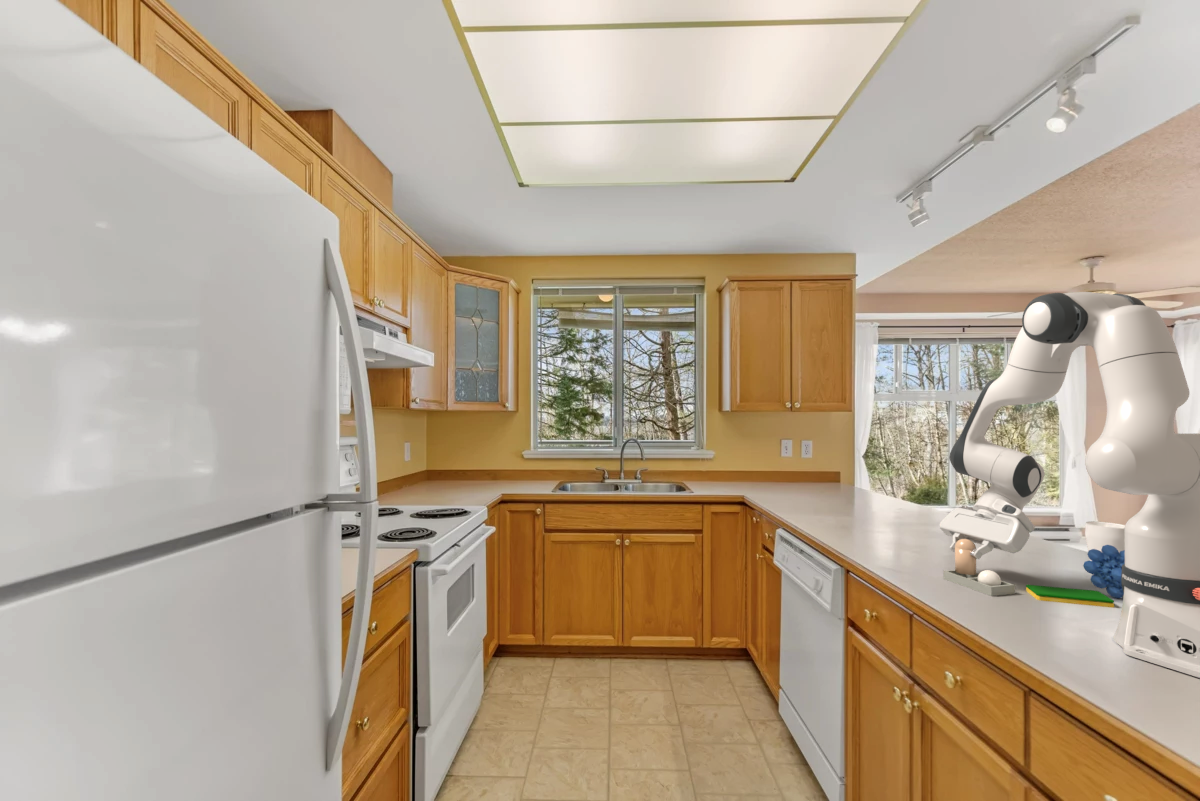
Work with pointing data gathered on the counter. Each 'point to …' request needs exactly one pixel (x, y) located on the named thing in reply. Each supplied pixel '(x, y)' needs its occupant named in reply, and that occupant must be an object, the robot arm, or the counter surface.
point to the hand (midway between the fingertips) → (963, 553)
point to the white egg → (989, 578)
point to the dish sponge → (1069, 595)
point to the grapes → (1106, 569)
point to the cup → (1104, 535)
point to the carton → (978, 583)
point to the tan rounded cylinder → (965, 557)
